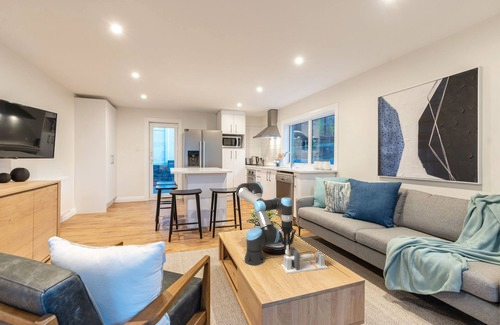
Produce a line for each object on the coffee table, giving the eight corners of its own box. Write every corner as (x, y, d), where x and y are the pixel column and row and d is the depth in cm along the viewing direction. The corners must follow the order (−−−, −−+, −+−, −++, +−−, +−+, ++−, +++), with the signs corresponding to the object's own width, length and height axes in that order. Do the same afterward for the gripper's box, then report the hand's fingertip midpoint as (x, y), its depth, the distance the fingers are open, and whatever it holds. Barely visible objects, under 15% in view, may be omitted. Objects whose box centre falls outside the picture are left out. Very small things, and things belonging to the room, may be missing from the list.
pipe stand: (287, 273, 156) (287, 260, 155) (281, 265, 168) (281, 252, 167) (327, 268, 162) (327, 255, 162) (319, 261, 174) (319, 249, 173)
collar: (296, 269, 158) (296, 253, 157) (290, 262, 168) (290, 247, 168) (299, 269, 158) (299, 253, 158) (293, 261, 169) (293, 246, 168)
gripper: (279, 222, 156) (279, 257, 157) (297, 221, 158) (298, 255, 159) (276, 219, 163) (276, 252, 164) (293, 218, 166) (293, 250, 167)
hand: (287, 253), depth 162 cm, fingers closed
